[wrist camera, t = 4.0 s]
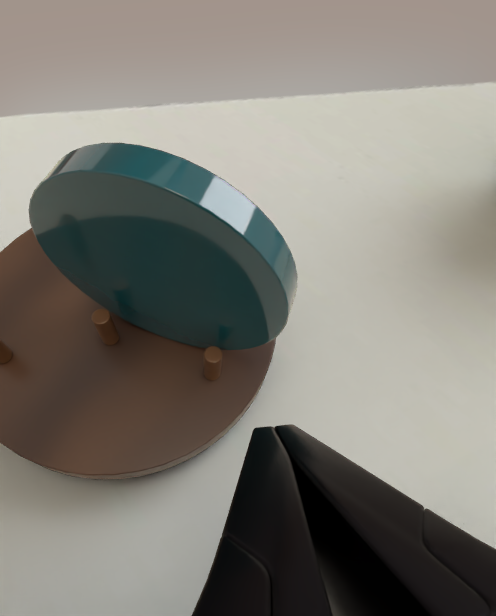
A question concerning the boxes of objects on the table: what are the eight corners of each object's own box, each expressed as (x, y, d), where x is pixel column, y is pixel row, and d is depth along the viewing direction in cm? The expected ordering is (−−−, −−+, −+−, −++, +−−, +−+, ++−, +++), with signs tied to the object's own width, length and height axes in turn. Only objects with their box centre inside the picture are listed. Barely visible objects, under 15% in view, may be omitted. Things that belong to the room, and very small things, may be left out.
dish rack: (-105, 412, 16) (-475, 259, 7) (72, 186, 23) (-9, -35, 14) (216, 531, 15) (236, 522, 6) (302, 258, 22) (369, 70, 13)
